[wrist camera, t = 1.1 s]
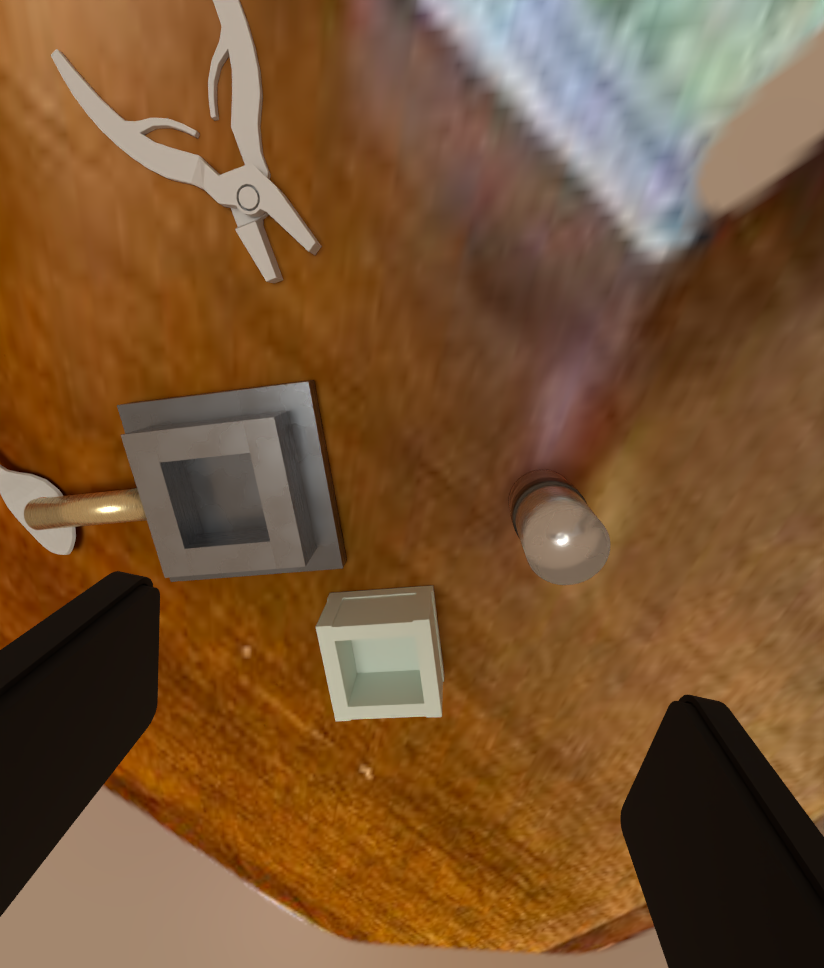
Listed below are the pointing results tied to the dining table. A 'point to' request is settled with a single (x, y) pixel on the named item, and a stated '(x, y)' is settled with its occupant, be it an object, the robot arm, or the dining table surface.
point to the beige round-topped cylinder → (557, 528)
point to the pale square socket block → (382, 653)
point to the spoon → (23, 490)
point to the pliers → (234, 189)
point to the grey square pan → (221, 484)
